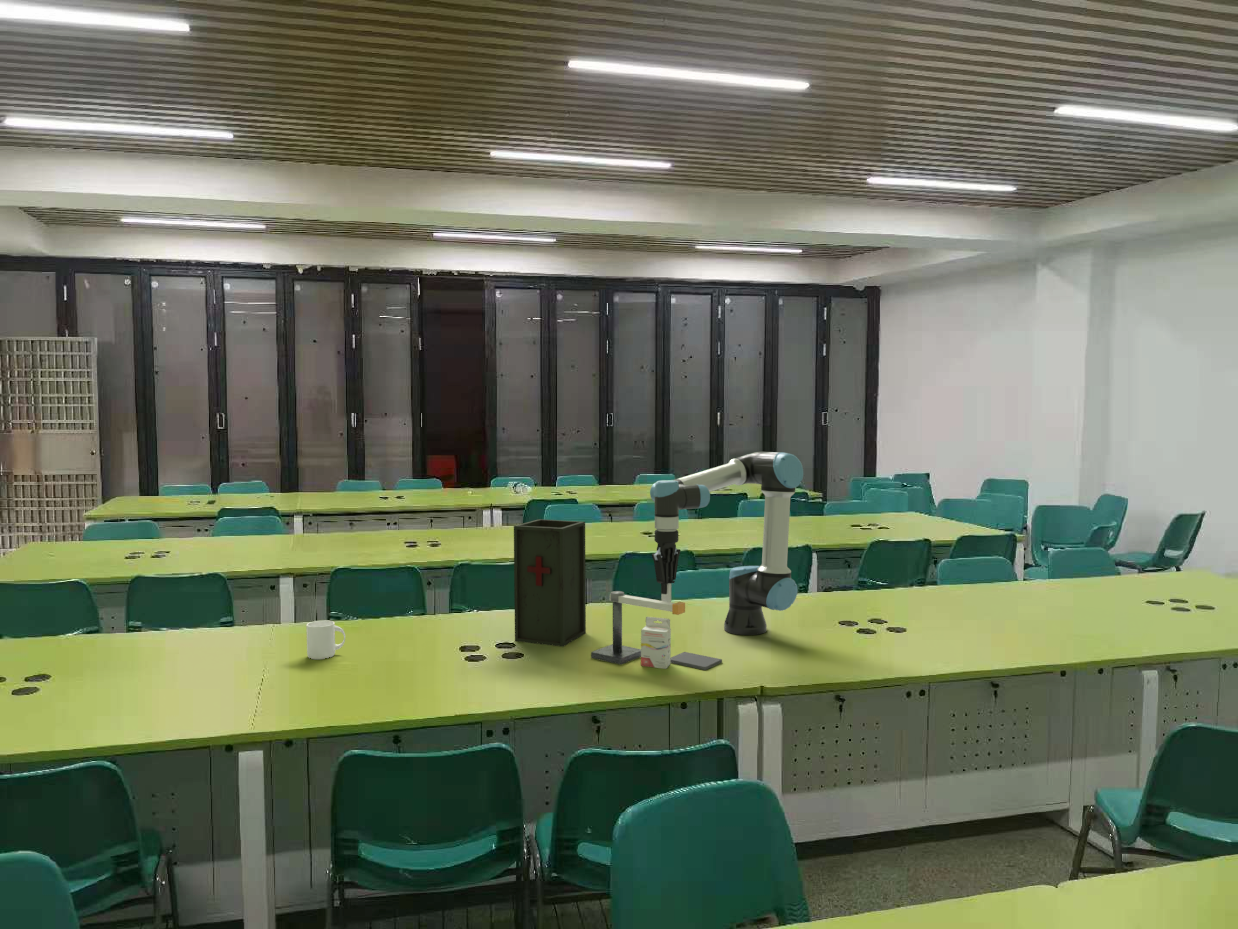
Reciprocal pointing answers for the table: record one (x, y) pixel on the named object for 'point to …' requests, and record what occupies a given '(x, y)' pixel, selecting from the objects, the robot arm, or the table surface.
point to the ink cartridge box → (656, 643)
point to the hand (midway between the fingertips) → (666, 603)
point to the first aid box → (549, 582)
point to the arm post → (616, 643)
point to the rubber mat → (695, 660)
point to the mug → (322, 639)
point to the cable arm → (648, 602)
